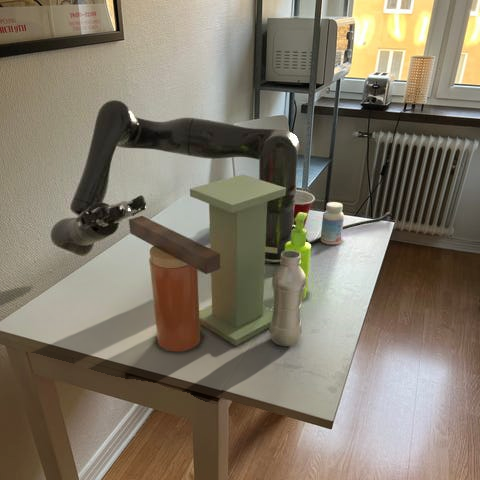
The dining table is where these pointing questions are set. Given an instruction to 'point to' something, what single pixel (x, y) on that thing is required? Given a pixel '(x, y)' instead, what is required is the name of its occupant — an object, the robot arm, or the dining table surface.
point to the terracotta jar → (175, 301)
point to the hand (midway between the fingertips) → (125, 205)
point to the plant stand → (238, 255)
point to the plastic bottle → (287, 299)
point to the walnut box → (175, 244)
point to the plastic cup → (302, 204)
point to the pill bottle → (332, 223)
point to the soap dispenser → (300, 246)
